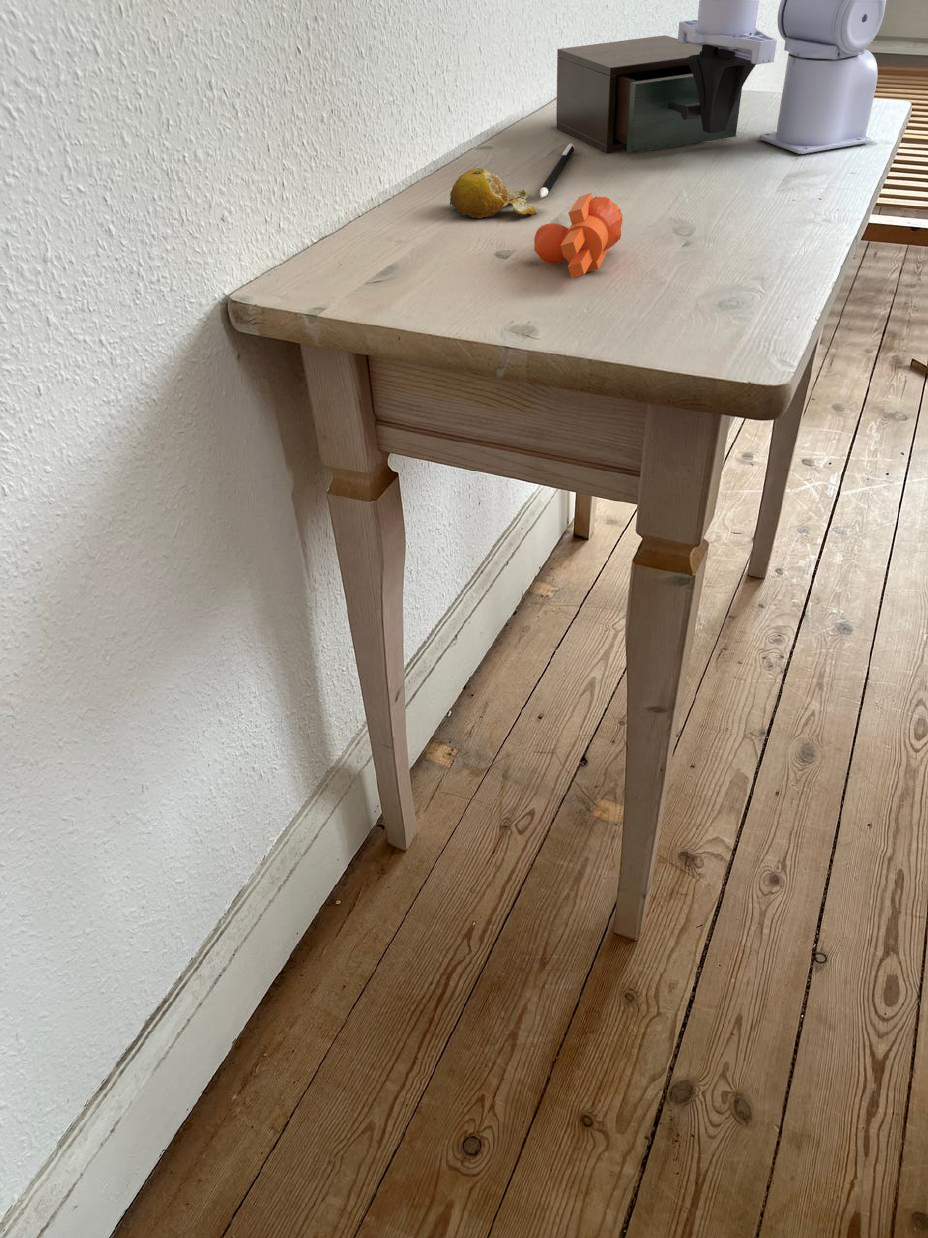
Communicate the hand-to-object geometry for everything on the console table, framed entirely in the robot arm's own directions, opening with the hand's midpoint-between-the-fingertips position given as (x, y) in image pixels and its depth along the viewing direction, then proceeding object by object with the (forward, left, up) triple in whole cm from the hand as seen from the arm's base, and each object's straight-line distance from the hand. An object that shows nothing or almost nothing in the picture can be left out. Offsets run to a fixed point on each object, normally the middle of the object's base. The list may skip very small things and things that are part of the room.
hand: (714, 130), depth 100 cm
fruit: (+26, +3, -4) cm, 26 cm away
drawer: (0, -10, -2) cm, 10 cm away
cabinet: (0, -17, -3) cm, 17 cm away
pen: (+16, -5, -3) cm, 17 cm away
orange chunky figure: (+26, +20, -4) cm, 33 cm away
